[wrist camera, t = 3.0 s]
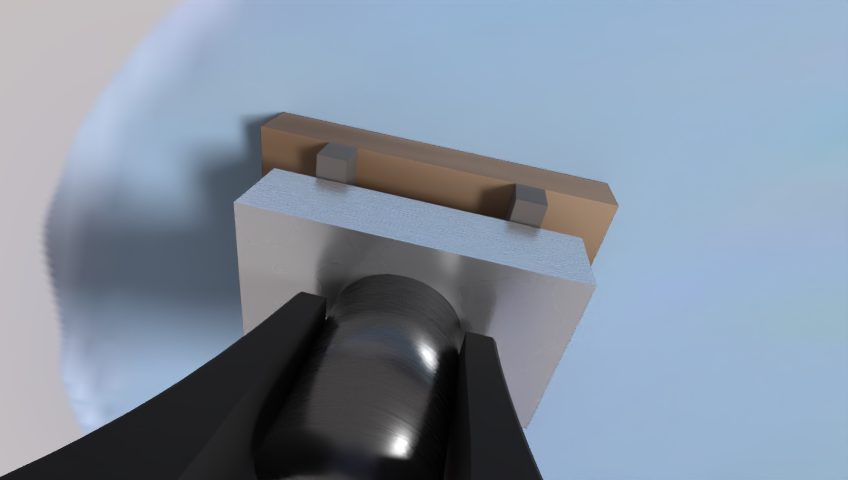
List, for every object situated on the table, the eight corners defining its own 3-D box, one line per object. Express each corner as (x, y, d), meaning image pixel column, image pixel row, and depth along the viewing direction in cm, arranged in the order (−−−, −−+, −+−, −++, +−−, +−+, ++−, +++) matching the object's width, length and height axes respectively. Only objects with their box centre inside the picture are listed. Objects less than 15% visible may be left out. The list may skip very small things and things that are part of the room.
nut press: (466, 506, 23) (456, 640, 18) (285, 459, 23) (231, 578, 19) (607, 183, 13) (665, 300, 8) (283, 112, 13) (165, 184, 9)
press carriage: (524, 372, 14) (535, 609, 8) (277, 311, 14) (145, 505, 9) (582, 237, 11) (650, 467, 6) (274, 168, 11) (83, 326, 6)
